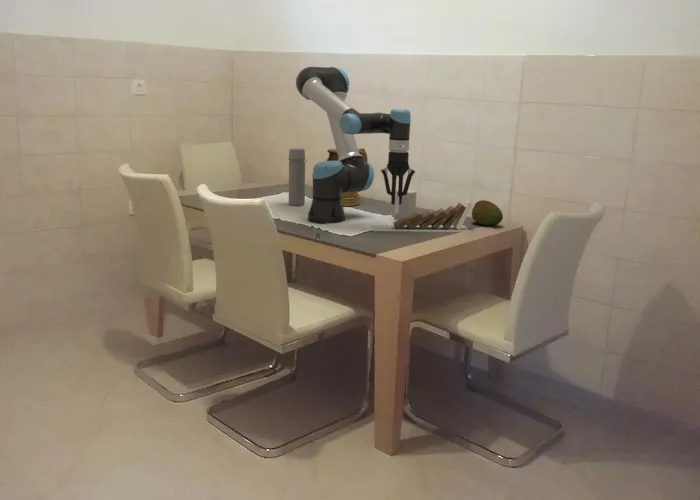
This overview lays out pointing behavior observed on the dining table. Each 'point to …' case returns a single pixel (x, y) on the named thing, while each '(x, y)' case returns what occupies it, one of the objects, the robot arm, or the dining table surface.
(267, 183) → the dining table surface
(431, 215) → the tile
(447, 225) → the tile
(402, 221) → the tile
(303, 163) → the water bottle
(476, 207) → the fruit
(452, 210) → the tile
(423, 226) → the tile
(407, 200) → the cup
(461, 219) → the ivory tile
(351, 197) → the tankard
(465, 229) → the strip
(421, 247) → the dining table surface
